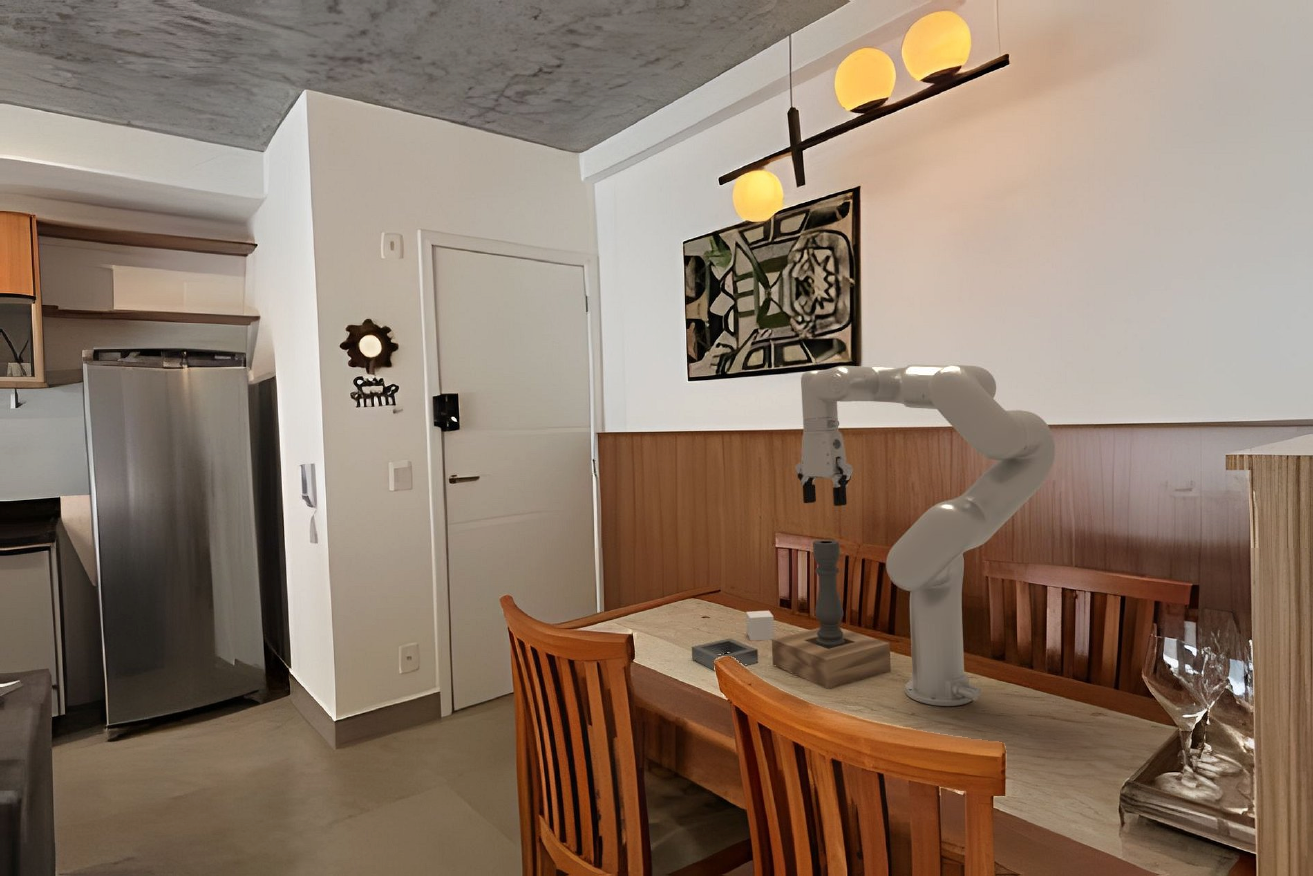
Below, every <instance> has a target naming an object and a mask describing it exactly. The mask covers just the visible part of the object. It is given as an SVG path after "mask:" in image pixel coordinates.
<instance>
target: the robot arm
mask: <svg viewBox="0 0 1313 876" xmlns="http://www.w3.org/2000/svg"><path fill="white" fill-rule="evenodd" d="M800 387H801V407H802V425H803V426H802V427H803V434H802V439H801V455H800V456H801V461H799V462H798V463H797V464H795V466H794V469H795V471H796V474H797V478H798V479H799V481H800V483H799V484H800V485H801V486H802V500H803V503H804V504H812V503H816V502H817V496H816V484H814V482H815V481H816V479H830V481H832V484H833V486H834V487H832V495H833V496H832V497H833V506H835V507H840V506H846V505H847V504H848V503H847V502H848V501H847V487H848V486H849V482H850V480H851V479H852V474H853V471H854V467H853V465H852V464H850V463H848V462H847V456H846V449H845V448H846V447H845V442H844V439H843V435H842V432H841V431H839V426H840V421H839V415H838V413H839V412H838V402H873V403H874V402H876V403H895V404H902V405H903V406H904V407H906V408H913V409H928V410H929V409H930V410H937V411H938V412H939V413H940V414H941V416H942V417H943V418H944V419H945V421H947V422H948V424H950V425H951V426H952V428H953V429H954V430H955V431H956V432H957V433H958V434H959V435H960V436H961V437H962V438H963V439H964V441H966V443H967V444H968V445H969V446H970V448H972V449H973V450H974V451H975V452H976V453H977V454H979V455H981V456H983V457H984V458H987V459H989V460H994V461H996V462H995V463H994V464H993V465H991V467H989V468H988V469H987V470H986V471H985V472H984V473H983V474H981V475H980V477H979V478H978V479H977V480H976V481H975V482H974V483H973V484H972V485H971V486H970V487H969V488H968V489H967V490H966V491H965V492H963V493H962V494H961V495H959V496H957V497H956V498H953V499H952V498H951V499H948V500H945V501H941V502H938V503H936V504H935V505H933V506H931V507H930V508H928V509H927V510H926V511H924V513H923V514H922V515H921V516H919V518H918V519H917V520H916V521H915V522H914V523H913V524H912V525H911V526H910V527H909V529H908V530H906V532H905V533H904V534H903V535H902V536H901V537H900V538H898V540H897V541H896V543H894V544H893V546H892V547H891V548H890V549H889V552H888V554H887V557H886V562H885V566H886V567H885V568H886V572H887V575H888V577H889V579H890V581H891V582H892V583H893V584H894V585H896V587H897V588H900V589H901V590H904V591H908V592H910V593H909V594H910V595H909V625H910V627H909V628H910V648H911V668H912V670H911V671H912V679H911V680H909V681H907V682H906V683H905V685H904V693H905V694H906V695H907V696H908V698H910V699H912V700H914V701H916V702H920V703H922V704H927V705H932V706H940V707H957V706H961V705H962V706H963V705H966V704H968V703H970V702H973V701H974V702H976V701H977V700H978V699H979V695H980V694H981V692H982V690H981V687H979V686H976V685H973V684H971V683H970V675H969V674H965V662H964V658H965V656H964V638H963V637H964V635H963V633H964V632H963V609H962V602H963V601H962V598H963V597H962V595H963V593H962V591H963V589H962V588H963V579H964V571H965V560H964V559H965V558H964V553H965V552H967V551H969V550H972V549H975V548H978V547H980V546H982V545H984V544H985V543H987V542H988V541H989V540H990V539H991V538H992V537H993V536H994V535H995V533H996V532H998V530H999V529H1000V528H1001V527H1002V526H1004V524H1005V523H1006V522H1007V521H1009V519H1011V518H1012V517H1013V515H1014V514H1015V513H1016V512H1017V511H1018V510H1019V509H1021V507H1022V506H1024V504H1026V502H1027V501H1028V500H1029V499H1030V498H1031V497H1033V495H1034V494H1035V493H1036V492H1037V491H1038V490H1039V489H1040V488H1041V486H1042V485H1043V484H1044V482H1045V481H1046V479H1047V478H1048V477H1049V475H1050V473H1051V471H1052V469H1053V466H1054V463H1055V456H1056V444H1055V440H1054V436H1053V432H1052V431H1051V429H1050V427H1049V425H1048V424H1047V422H1046V421H1045V420H1044V419H1043V418H1042V417H1040V416H1039V415H1038V414H1036V413H1035V412H1034V413H1033V412H1031V411H1028V410H1022V409H1020V410H1019V409H1016V410H1015V409H1013V410H1005V408H1003V407H1002V406H1001V404H999V403H998V402H997V400H996V399H994V398H995V396H996V392H997V383H996V379H995V378H994V376H993V375H992V373H990V371H989V370H987V369H985V368H983V367H981V366H976V365H963V364H953V365H947V364H946V365H944V364H941V365H938V364H935V365H934V364H931V365H930V364H909V365H906V366H905V367H882V366H881V367H879V366H878V367H874V366H861V365H859V366H857V365H856V366H855V365H838V366H835V367H831V368H827V369H821V370H820V369H815V370H809V371H806V372H803V373H802V375H801V377H800Z"/></svg>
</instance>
